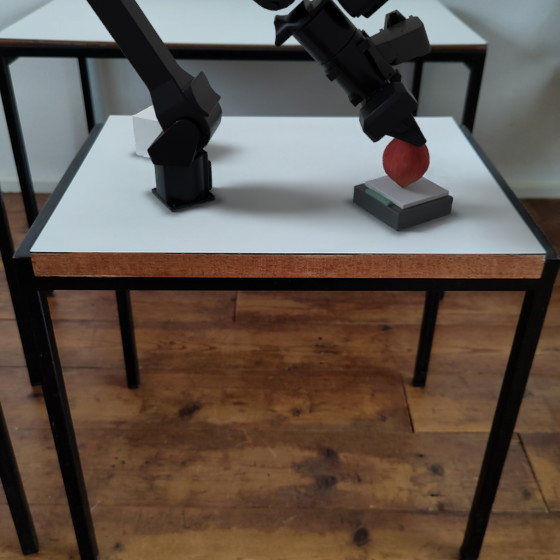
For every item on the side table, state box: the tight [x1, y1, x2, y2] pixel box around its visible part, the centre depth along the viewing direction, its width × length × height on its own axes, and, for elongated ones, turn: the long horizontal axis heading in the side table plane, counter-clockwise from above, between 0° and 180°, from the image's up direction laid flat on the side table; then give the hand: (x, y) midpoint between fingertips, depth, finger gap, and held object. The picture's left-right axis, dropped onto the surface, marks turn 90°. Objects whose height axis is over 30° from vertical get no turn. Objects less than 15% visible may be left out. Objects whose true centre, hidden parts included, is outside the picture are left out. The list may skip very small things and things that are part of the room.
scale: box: [352, 174, 454, 232], centre depth 89 cm, size 9×9×3 cm
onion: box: [381, 138, 431, 187], centre depth 86 cm, size 6×6×8 cm
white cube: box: [131, 104, 162, 159], centre depth 102 cm, size 6×6×6 cm
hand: (420, 138), depth 85 cm, fingers closed on onion, 3 cm apart
